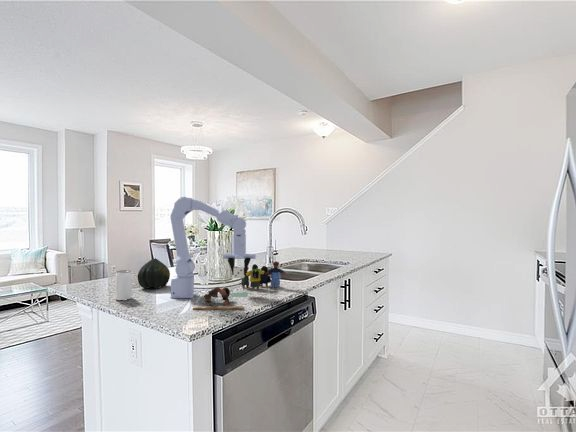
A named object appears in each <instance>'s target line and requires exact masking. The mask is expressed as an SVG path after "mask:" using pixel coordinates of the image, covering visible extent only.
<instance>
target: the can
mask: <svg viewBox="0 0 576 432" xmlns="http://www.w3.org/2000/svg"><path fill="white" fill-rule="evenodd" d="M114 281H115V284H114V286H115V300H116V299H117V300H125V299H130V298H131V299H132V298H133V273H132V270H129V269H127V270H126V269H124V270H122V269H121V270H117V271H116V273H115V279H114ZM131 299H130V300H131ZM117 300H116V301H117ZM125 301H126V300H125Z"/></svg>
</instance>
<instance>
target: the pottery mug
mask: <svg viewBox="0 0 576 432" xmlns="http://www.w3.org/2000/svg"><path fill="white" fill-rule="evenodd" d="M230 293H231V290H230V288H228V287H223V288H220V286H216V287H215V288H212V289H211V290H210V291H208V292H207V293H206V294H204V295H203V299H204V303H206V302H207V304H208V303H211V302H212V300H211V299H212V298H215V299H216V298H219V295H220V296H221V298H222V301H223V302H222V304H223V306H230V303H231V302H230V299H229V297H230V296H231V295H230Z"/></svg>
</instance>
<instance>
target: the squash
mask: <svg viewBox="0 0 576 432" xmlns="http://www.w3.org/2000/svg"><path fill="white" fill-rule="evenodd" d="M170 276H171V271H170V269H169V267H168V266H167V265H166V264H165V263H163V262H162V261H160V260H159V259H158V258H156V257H155V258H152V259H150V260H149V261H148V262H146V263H144V264H143V265H142V266H141V268H140V269H139V271H138V273H137V282H138V284H139V286H140V287H141V288H143V289H150V288H153V289H156V290H159V289H160V288H164V287H166V286H167V284H168V283H169V281H170V279H171V278H170Z"/></svg>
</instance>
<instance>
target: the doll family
mask: <svg viewBox="0 0 576 432" xmlns="http://www.w3.org/2000/svg"><path fill="white" fill-rule="evenodd" d="M272 265H273V268H268V267H267V266H266V265H262V267H261V268H259V267H258V266H259V265H257V264H256V263H254V264H252V267H251V270H250V269H249V267H248V268H247V272H246V275H245V277H244V278H241V282H240V284H241V286H242V288H241V289H242V290H245V289H251V290H260V288H263V287H269V284H270V288H275V287H276V288H280V287H281V285H280V284H281V281H280V280H281V279H280V278H281V277H280V274H283V275H286V274H287V273H286V272H285V271H284V270H283V269H281V268H279V265H280V262H279V261H273V262H272Z"/></svg>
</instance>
